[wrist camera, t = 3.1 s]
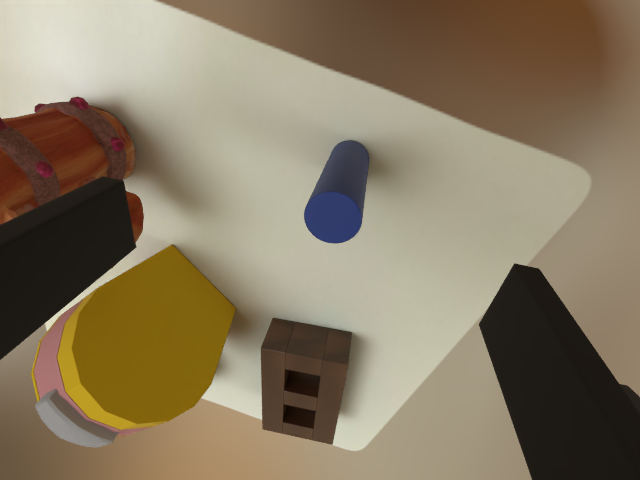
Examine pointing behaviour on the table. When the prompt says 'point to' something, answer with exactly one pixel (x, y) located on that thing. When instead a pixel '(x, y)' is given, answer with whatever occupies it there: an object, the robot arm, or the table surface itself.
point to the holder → (303, 379)
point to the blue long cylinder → (339, 194)
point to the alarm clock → (131, 352)
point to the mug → (62, 156)
